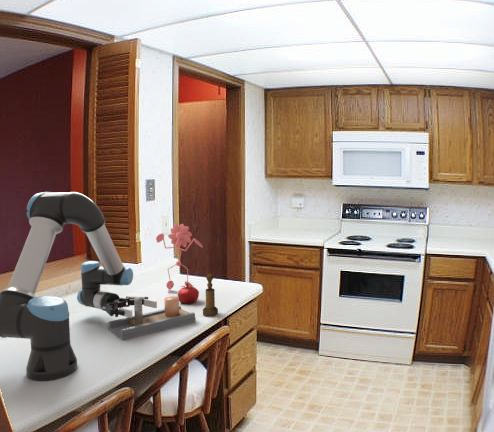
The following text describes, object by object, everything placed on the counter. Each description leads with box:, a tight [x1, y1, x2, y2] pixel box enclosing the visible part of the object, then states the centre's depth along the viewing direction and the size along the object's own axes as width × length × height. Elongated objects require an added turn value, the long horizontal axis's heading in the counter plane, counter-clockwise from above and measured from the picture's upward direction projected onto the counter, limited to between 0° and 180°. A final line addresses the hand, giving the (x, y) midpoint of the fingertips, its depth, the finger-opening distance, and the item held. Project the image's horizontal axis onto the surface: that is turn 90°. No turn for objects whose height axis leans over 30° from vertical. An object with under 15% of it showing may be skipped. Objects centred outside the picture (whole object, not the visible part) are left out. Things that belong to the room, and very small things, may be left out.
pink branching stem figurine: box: [155, 223, 204, 294], centre depth 241 cm, size 15×26×35 cm, turn 76°
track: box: [107, 305, 196, 341], centre depth 190 cm, size 32×14×4 cm, turn 128°
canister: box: [164, 296, 180, 317], centre depth 195 cm, size 6×6×7 cm
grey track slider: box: [129, 296, 190, 326], centre depth 192 cm, size 24×9×11 cm, turn 128°
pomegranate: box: [177, 283, 200, 304], centre depth 222 cm, size 10×10×9 cm
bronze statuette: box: [202, 273, 219, 318], centre depth 203 cm, size 7×6×18 cm
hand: (144, 309), depth 184 cm, fingers open, 13 cm apart
